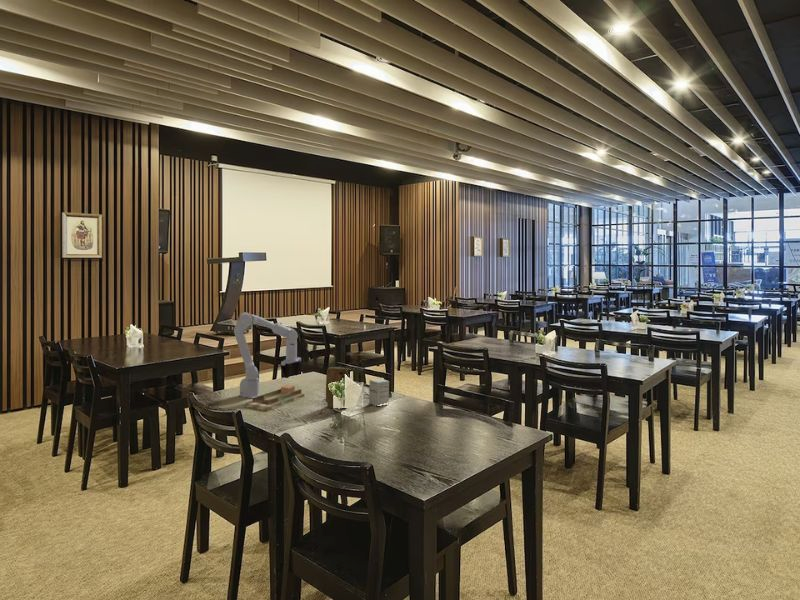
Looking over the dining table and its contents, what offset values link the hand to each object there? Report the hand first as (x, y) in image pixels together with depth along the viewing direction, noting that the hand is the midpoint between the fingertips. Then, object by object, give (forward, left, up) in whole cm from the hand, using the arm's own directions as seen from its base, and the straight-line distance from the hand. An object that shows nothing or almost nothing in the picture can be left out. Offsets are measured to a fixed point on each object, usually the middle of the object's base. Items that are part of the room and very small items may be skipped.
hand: (291, 376), depth 274 cm
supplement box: (+51, +5, -10) cm, 52 cm away
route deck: (+4, -17, -10) cm, 20 cm away
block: (+36, -10, -10) cm, 38 cm away
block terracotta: (+4, -8, -8) cm, 11 cm away
